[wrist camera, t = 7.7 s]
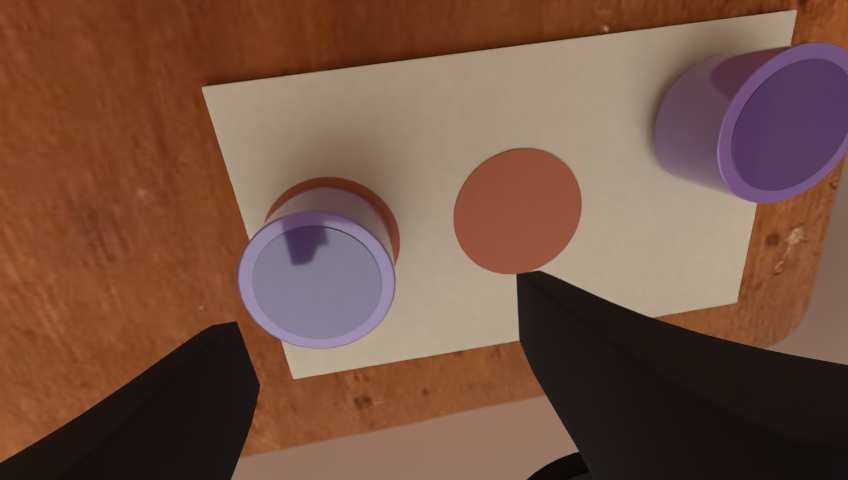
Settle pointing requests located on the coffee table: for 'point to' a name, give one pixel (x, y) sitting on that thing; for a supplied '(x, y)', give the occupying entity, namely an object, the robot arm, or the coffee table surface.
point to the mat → (500, 178)
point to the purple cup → (757, 121)
